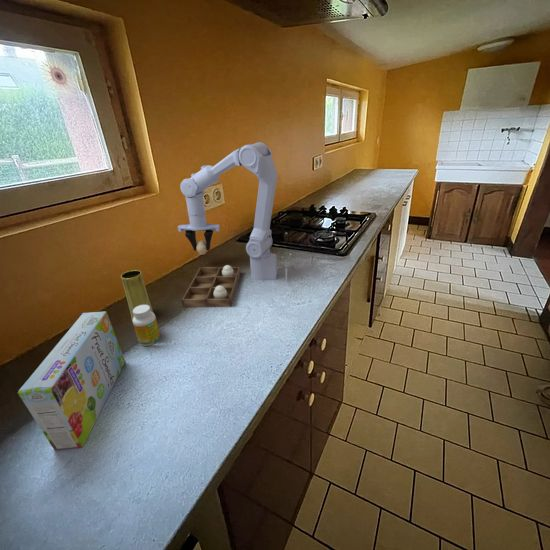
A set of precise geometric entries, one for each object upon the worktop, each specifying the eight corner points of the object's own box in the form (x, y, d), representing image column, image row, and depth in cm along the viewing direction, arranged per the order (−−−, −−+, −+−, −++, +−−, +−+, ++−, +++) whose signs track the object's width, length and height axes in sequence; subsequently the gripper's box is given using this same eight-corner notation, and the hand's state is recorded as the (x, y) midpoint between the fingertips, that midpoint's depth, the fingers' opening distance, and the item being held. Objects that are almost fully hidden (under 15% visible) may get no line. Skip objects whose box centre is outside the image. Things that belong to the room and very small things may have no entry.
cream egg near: (228, 296, 96) (227, 282, 93) (226, 303, 92) (224, 289, 90) (215, 296, 96) (213, 282, 93) (213, 303, 92) (210, 289, 90)
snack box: (102, 364, 71) (81, 311, 64) (126, 362, 72) (108, 309, 65) (51, 451, 53) (14, 391, 46) (84, 448, 53) (53, 388, 46)
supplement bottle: (153, 347, 76) (144, 316, 72) (134, 345, 77) (124, 314, 73) (164, 334, 81) (157, 303, 76) (146, 332, 82) (138, 302, 77)
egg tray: (240, 275, 110) (240, 267, 108) (231, 308, 91) (230, 299, 89) (200, 275, 110) (199, 267, 109) (183, 309, 91) (181, 299, 90)
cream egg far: (235, 275, 108) (234, 262, 106) (233, 281, 104) (232, 268, 102) (223, 275, 108) (222, 262, 106) (221, 281, 105) (219, 268, 102)
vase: (158, 313, 90) (147, 270, 83) (144, 325, 85) (131, 280, 78) (141, 309, 91) (130, 267, 85) (127, 321, 86) (113, 277, 80)
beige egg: (209, 250, 114) (207, 238, 111) (207, 255, 110) (205, 242, 108) (198, 251, 114) (196, 238, 111) (195, 255, 110) (193, 242, 108)
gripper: (219, 209, 108) (223, 245, 114) (179, 210, 109) (185, 245, 115) (215, 215, 102) (220, 252, 108) (173, 216, 102) (180, 253, 109)
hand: (202, 249), depth 111 cm, fingers closed on beige egg, 4 cm apart
